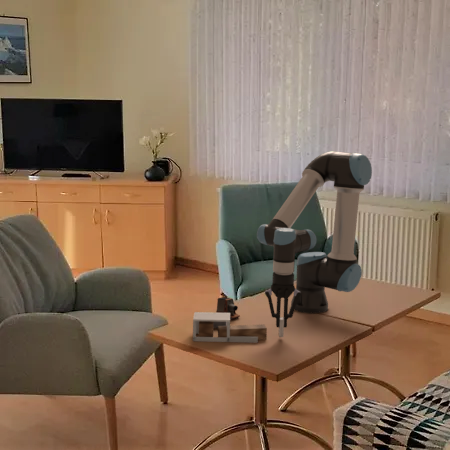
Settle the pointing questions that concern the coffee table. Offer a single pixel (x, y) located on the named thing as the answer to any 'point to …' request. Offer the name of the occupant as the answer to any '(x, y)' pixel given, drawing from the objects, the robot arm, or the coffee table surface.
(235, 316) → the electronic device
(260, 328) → the rod
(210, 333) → the block
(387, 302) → the coffee table surface
